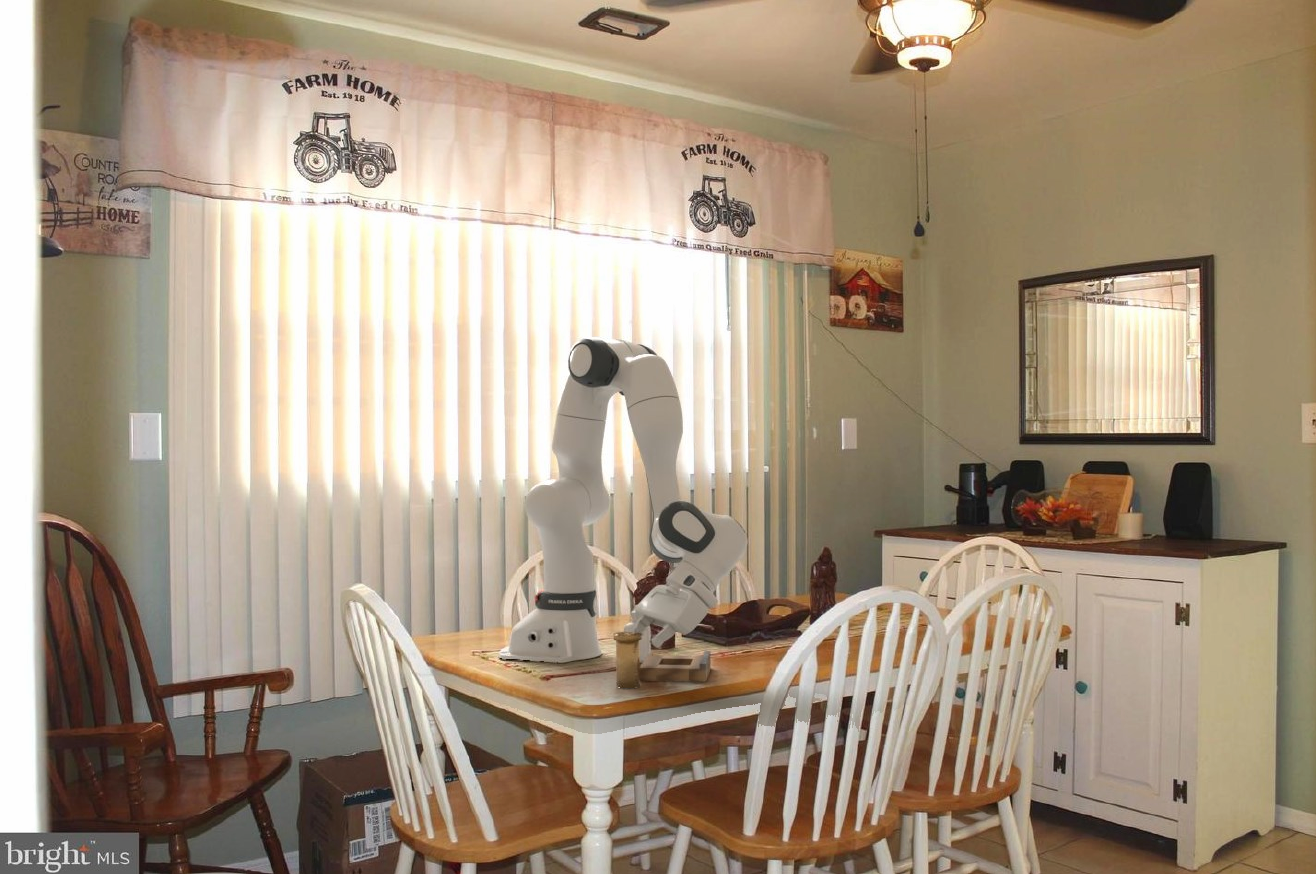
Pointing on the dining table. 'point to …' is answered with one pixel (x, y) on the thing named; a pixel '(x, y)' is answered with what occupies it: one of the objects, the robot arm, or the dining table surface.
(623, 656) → the bushing
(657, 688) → the dining table surface
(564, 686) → the dining table surface
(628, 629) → the eye dropper bottle
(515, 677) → the dining table surface
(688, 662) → the jig
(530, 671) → the dining table surface
